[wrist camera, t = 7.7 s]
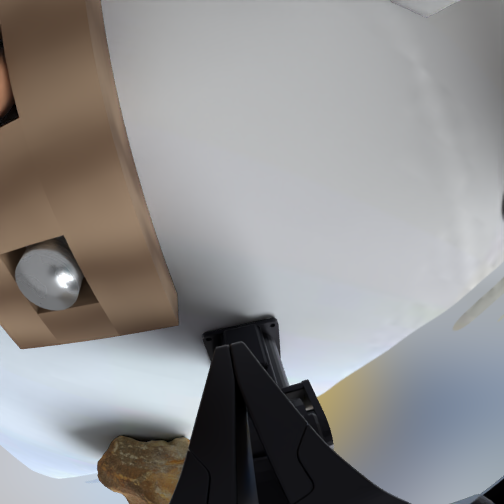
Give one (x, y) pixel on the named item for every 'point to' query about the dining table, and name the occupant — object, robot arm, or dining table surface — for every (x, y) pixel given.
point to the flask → (425, 5)
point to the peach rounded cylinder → (5, 87)
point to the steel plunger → (49, 274)
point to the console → (74, 181)
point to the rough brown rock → (143, 468)
